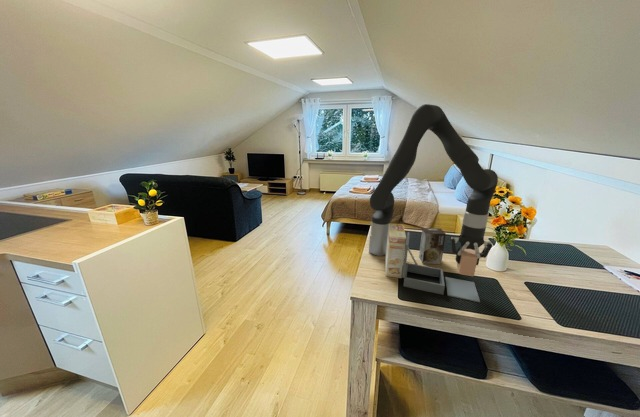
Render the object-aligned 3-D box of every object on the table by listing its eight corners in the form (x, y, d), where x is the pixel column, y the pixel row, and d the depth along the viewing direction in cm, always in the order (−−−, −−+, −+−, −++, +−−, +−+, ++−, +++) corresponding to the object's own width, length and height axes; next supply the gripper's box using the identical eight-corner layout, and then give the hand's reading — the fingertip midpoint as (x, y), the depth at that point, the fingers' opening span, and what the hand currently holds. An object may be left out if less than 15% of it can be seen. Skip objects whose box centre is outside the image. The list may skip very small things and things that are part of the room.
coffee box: (436, 257, 125) (441, 228, 120) (441, 264, 119) (446, 233, 114) (418, 257, 126) (422, 227, 121) (421, 263, 120) (426, 233, 115)
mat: (447, 295, 97) (447, 294, 97) (444, 277, 108) (445, 276, 108) (479, 302, 93) (480, 301, 93) (473, 283, 104) (474, 282, 104)
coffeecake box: (402, 278, 108) (406, 237, 102) (385, 276, 110) (388, 236, 104) (400, 261, 122) (404, 224, 116) (385, 259, 123) (388, 223, 117)
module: (458, 273, 96) (462, 255, 93) (456, 264, 102) (460, 247, 99) (473, 276, 94) (477, 257, 91) (470, 267, 100) (474, 249, 98)
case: (400, 285, 103) (405, 244, 97) (403, 269, 115) (407, 232, 109) (443, 294, 97) (450, 251, 91) (441, 277, 109) (447, 237, 103)
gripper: (453, 224, 91) (446, 265, 96) (499, 230, 86) (489, 272, 91) (451, 218, 98) (445, 256, 103) (494, 222, 92) (485, 262, 98)
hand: (466, 263), depth 97 cm, fingers closed on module, 5 cm apart
